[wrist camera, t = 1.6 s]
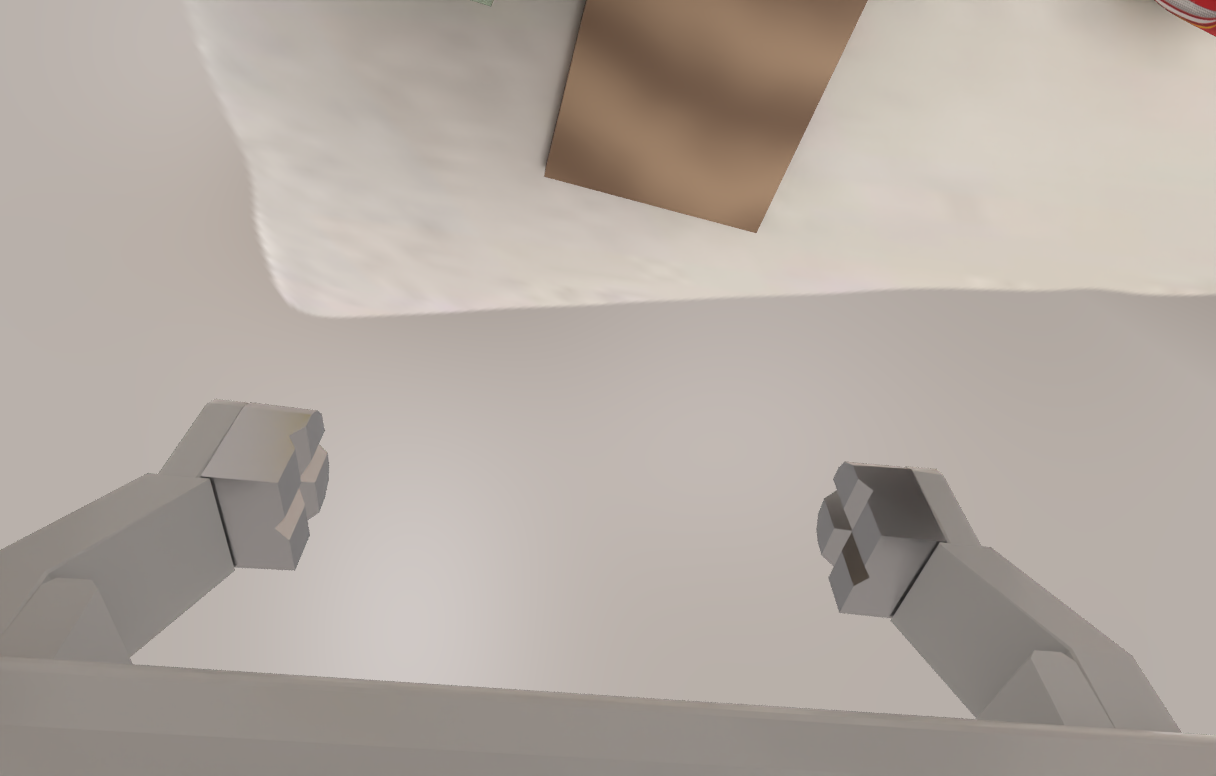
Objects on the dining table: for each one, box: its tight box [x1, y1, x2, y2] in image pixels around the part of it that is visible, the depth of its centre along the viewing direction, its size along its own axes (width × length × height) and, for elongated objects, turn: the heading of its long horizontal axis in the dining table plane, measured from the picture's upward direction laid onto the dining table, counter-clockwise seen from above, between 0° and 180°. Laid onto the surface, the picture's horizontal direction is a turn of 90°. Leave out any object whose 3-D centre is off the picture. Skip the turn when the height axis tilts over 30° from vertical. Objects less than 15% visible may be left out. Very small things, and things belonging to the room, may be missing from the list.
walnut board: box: [544, 0, 868, 233], centre depth 35 cm, size 14×12×1 cm
